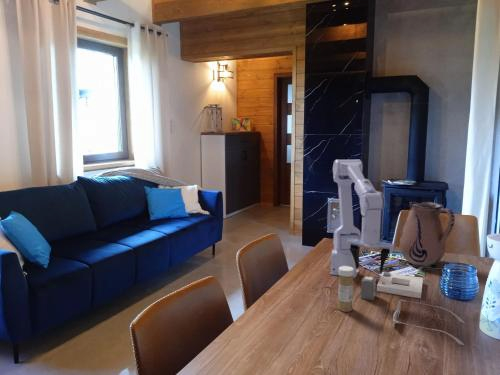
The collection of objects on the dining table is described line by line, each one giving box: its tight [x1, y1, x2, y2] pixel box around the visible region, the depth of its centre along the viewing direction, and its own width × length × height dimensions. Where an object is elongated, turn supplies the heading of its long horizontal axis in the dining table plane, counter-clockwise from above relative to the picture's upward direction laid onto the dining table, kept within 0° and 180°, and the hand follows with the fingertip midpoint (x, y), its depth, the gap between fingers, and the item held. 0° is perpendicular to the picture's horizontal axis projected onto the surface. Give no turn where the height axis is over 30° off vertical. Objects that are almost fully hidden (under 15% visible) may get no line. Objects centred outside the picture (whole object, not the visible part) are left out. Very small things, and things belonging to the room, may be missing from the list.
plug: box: [360, 276, 377, 301], centre depth 131 cm, size 4×4×7 cm
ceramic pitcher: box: [398, 201, 456, 267], centre depth 160 cm, size 18×21×25 cm
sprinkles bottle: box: [337, 266, 354, 313], centre depth 122 cm, size 5×5×14 cm
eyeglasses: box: [392, 299, 465, 346], centre depth 112 cm, size 15×18×4 cm
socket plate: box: [376, 271, 424, 299], centre depth 139 cm, size 14×14×3 cm
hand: (369, 269), depth 130 cm, fingers open, 7 cm apart
